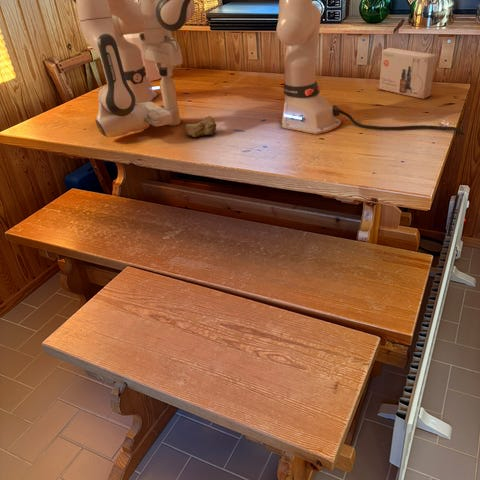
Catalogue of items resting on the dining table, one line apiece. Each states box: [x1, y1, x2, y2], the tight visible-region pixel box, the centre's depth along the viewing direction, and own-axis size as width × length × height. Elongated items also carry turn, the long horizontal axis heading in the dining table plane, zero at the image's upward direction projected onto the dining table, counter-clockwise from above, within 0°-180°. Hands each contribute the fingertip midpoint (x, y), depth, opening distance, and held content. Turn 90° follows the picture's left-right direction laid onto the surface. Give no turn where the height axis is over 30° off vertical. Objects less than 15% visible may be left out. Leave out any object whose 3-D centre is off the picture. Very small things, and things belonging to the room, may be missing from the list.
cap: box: [159, 67, 168, 76], centre depth 171 cm, size 4×4×2 cm
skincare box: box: [378, 47, 437, 100], centre depth 184 cm, size 21×6×16 cm, turn 40°
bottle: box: [159, 76, 182, 127], centre depth 176 cm, size 5×5×20 cm
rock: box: [185, 115, 218, 138], centre depth 169 cm, size 11×6×10 cm
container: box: [123, 32, 166, 82], centre depth 235 cm, size 21×21×28 cm
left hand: (173, 108), depth 179 cm, fingers closed on bottle, 5 cm apart
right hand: (165, 75), depth 172 cm, fingers closed on cap, 4 cm apart
